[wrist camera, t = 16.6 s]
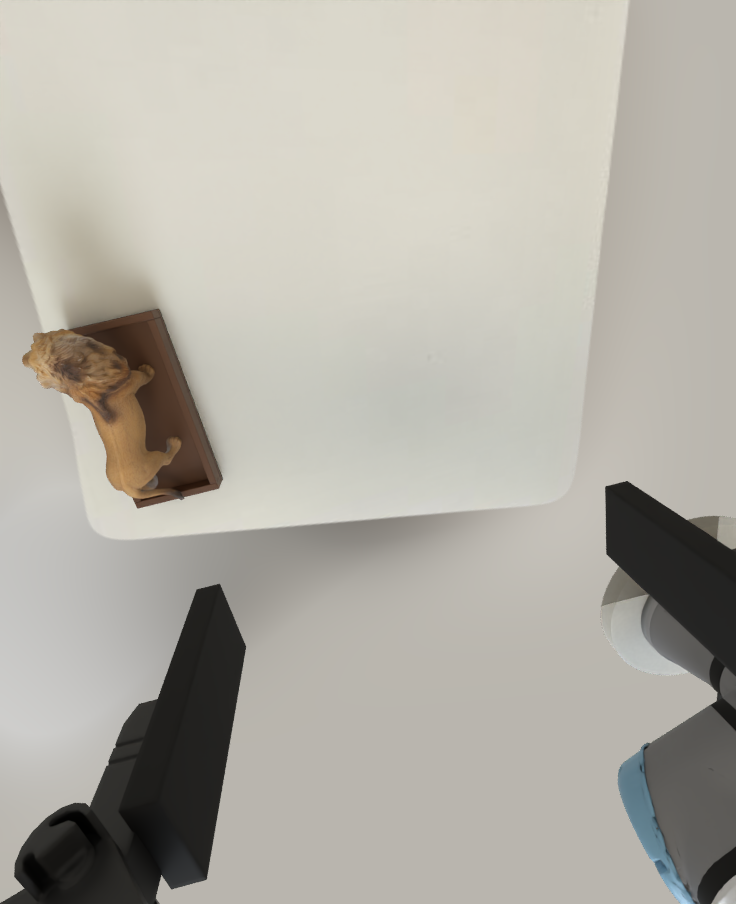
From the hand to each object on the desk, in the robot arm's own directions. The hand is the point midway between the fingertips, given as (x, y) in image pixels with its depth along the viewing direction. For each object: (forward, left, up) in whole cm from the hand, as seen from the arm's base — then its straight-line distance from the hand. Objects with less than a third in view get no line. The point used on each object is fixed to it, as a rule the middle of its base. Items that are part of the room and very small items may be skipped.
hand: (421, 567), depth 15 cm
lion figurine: (+2, +18, -26) cm, 31 cm away
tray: (+2, +17, -27) cm, 32 cm away
